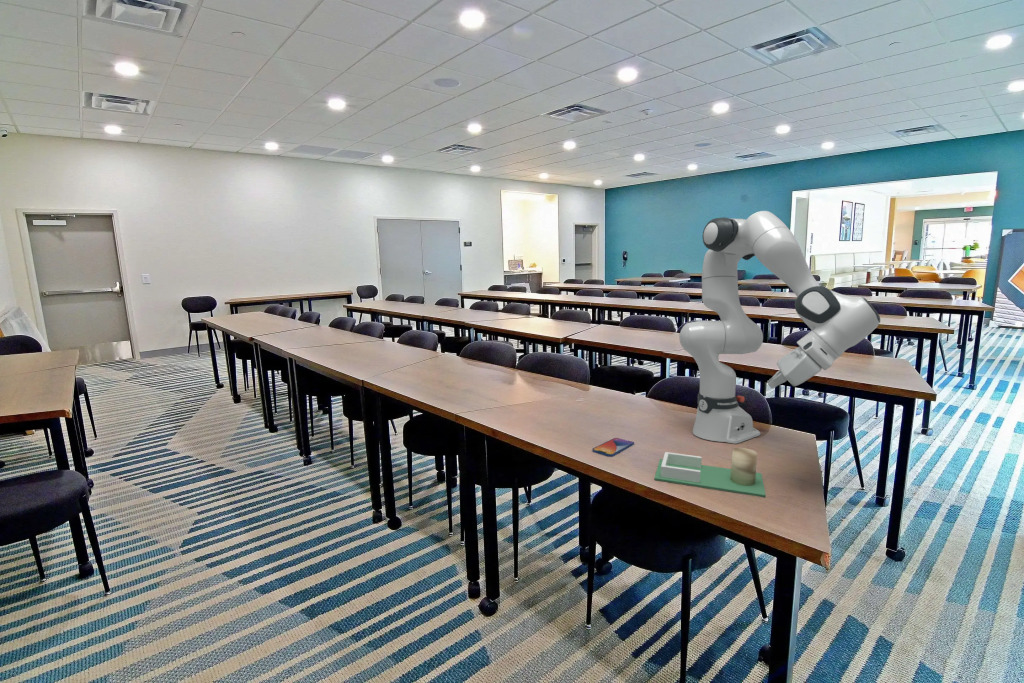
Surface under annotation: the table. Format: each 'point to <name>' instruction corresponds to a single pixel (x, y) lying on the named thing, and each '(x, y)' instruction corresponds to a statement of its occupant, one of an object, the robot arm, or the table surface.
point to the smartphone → (613, 447)
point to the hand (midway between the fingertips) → (769, 385)
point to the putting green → (702, 475)
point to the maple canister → (743, 466)
